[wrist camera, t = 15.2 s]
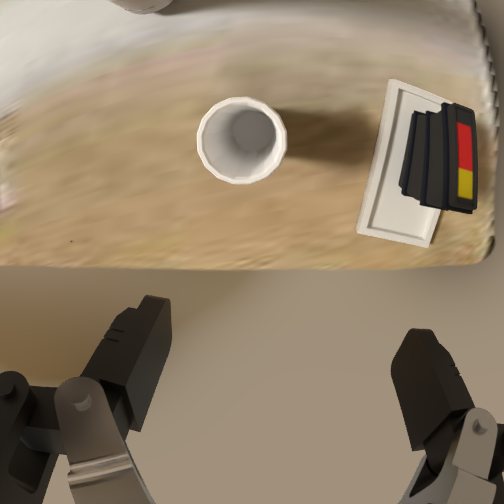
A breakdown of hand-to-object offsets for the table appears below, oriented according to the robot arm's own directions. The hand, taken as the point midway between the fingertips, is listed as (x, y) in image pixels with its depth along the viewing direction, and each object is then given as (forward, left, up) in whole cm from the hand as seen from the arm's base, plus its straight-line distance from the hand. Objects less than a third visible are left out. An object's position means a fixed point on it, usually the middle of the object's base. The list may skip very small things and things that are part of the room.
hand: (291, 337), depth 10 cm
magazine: (-3, +18, -34) cm, 39 cm away
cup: (-3, -4, -34) cm, 34 cm away
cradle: (-4, +18, -34) cm, 39 cm away
